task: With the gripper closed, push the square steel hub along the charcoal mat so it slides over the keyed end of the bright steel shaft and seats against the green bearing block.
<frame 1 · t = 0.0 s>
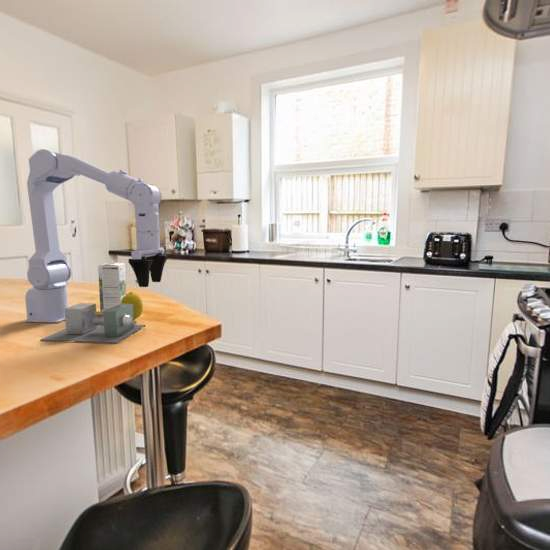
hand: (150, 284, 99), 10 cm above the countertop, tool pointing down, fingers open, 7 cm apart
lemon: (132, 322, 101), on the countertop
mat: (96, 332, 91), on the countertop
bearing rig: (96, 332, 91), resting on mat
syrup box: (114, 314, 110), on the countertop
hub: (81, 318, 91), point 4 cm above the countertop, slide at 0.0 cm
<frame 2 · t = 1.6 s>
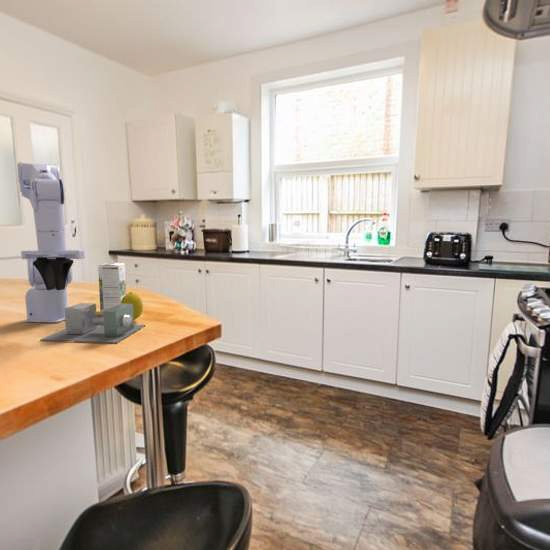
hand: (55, 289, 90), 10 cm above the countertop, tool pointing down, fingers closed
nothing on the countertop moved.
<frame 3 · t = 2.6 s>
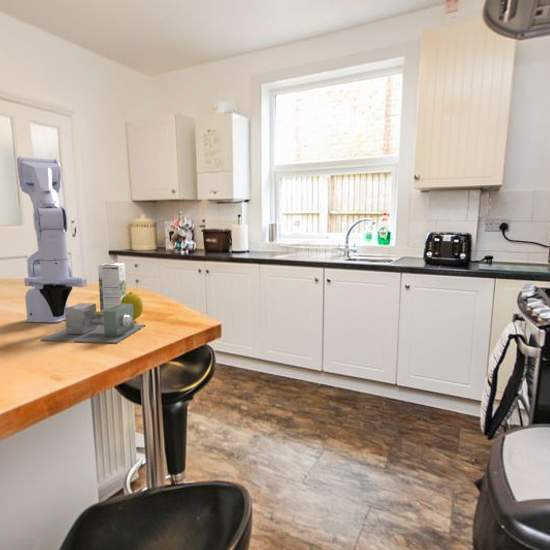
hand: (58, 316, 91), 4 cm above the countertop, tool pointing down, fingers closed
nothing on the countertop moved.
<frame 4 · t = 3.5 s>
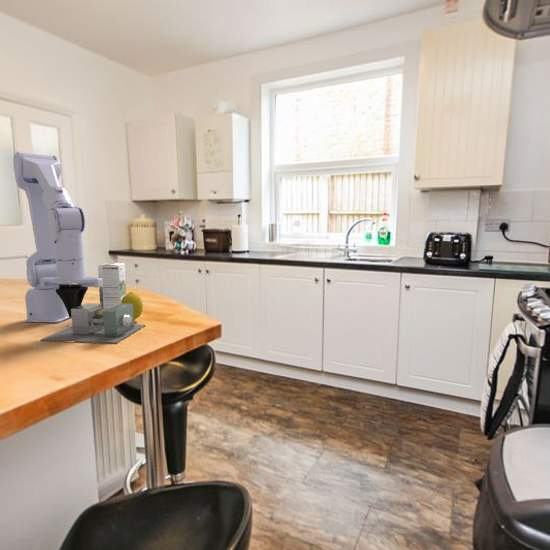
hand: (74, 316, 91), 4 cm above the countertop, tool pointing down, fingers closed
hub: (87, 318, 91), point 4 cm above the countertop, slide at 1.6 cm, touching gripper
everything else where it was.
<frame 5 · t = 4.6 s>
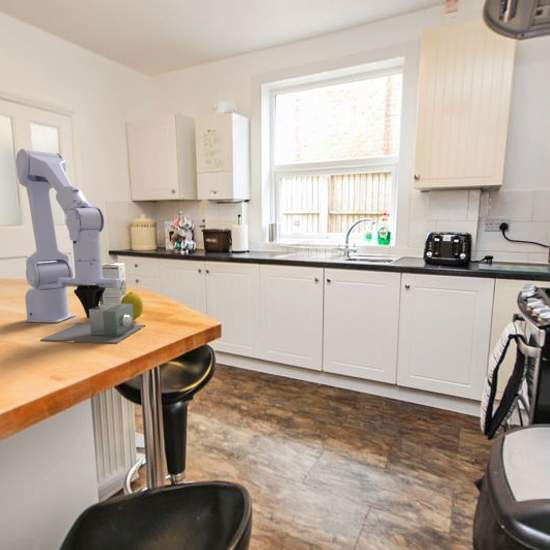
hand: (91, 316, 90), 4 cm above the countertop, tool pointing down, fingers closed
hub: (105, 319, 90), point 4 cm above the countertop, slide at 6.0 cm, touching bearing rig, gripper
everything else where it was.
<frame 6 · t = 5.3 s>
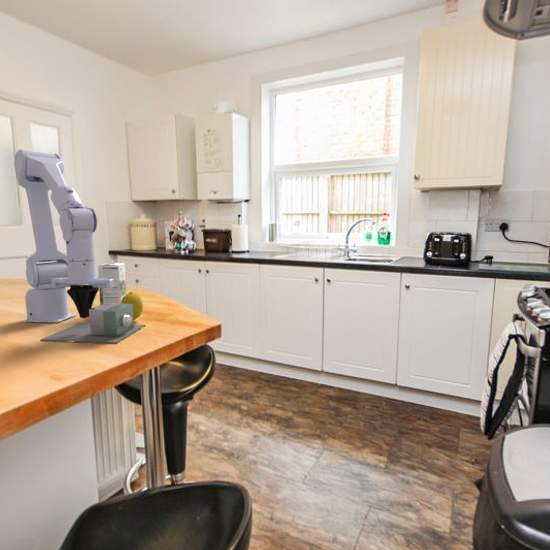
hand: (85, 317, 91), 4 cm above the countertop, tool pointing down, fingers closed
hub: (105, 319, 90), point 4 cm above the countertop, slide at 6.0 cm, touching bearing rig
everything else where it was.
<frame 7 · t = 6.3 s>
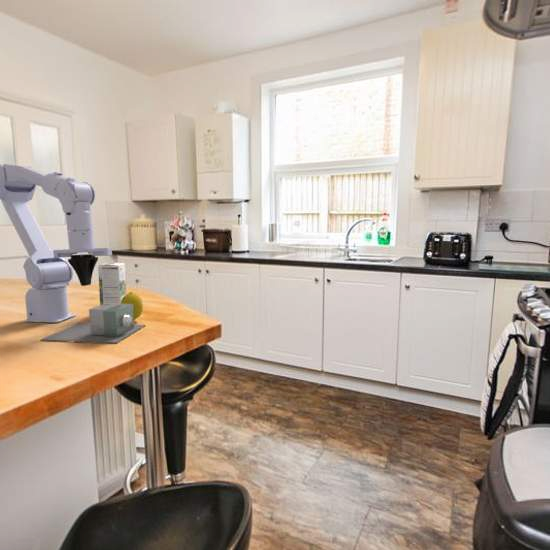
hand: (86, 285, 96), 10 cm above the countertop, tool pointing down, fingers closed
nothing on the countertop moved.
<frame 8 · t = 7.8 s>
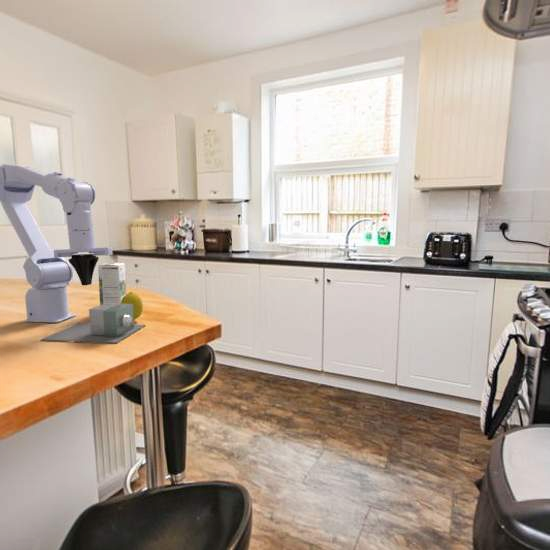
hand: (86, 284, 97), 10 cm above the countertop, tool pointing down, fingers closed
nothing on the countertop moved.
at the end: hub slide at 6.0 cm; the gripper is holding nothing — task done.
